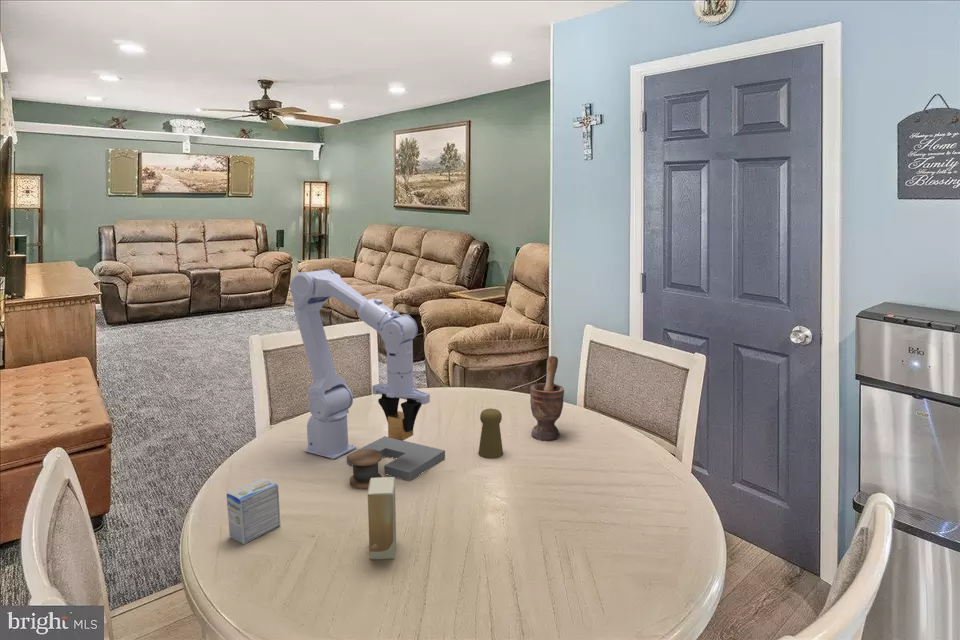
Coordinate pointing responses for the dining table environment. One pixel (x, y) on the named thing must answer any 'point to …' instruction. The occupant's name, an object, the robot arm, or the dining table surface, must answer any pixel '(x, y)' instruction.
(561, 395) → the mortar and pestle
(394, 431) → the block
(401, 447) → the notched board
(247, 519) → the medicine box
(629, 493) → the dining table surface
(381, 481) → the skincare box
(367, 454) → the bobbin
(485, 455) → the olive pawn
